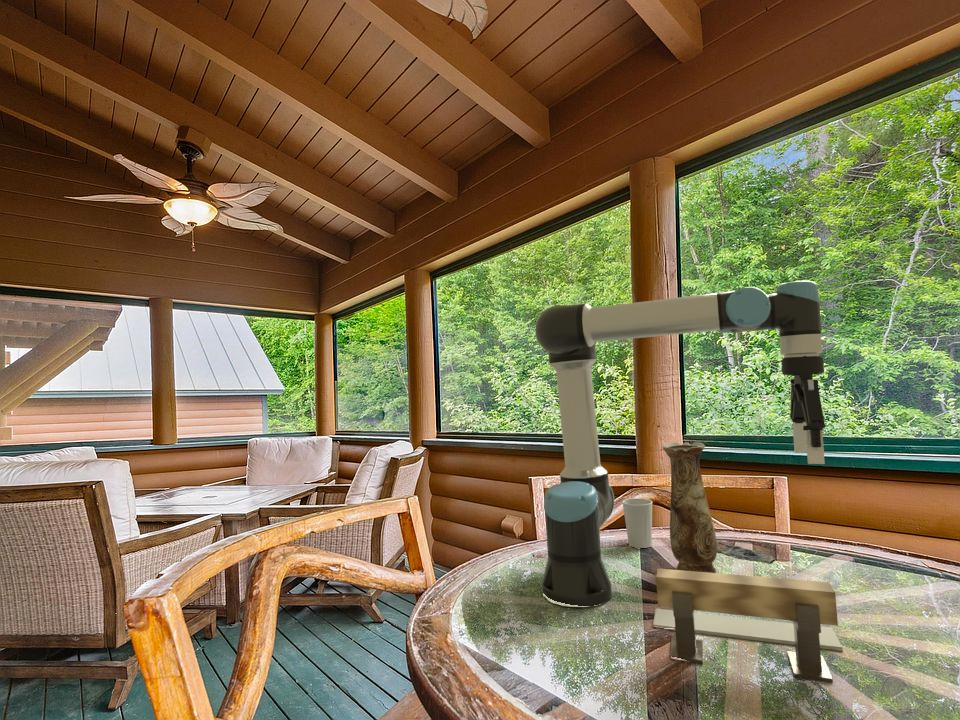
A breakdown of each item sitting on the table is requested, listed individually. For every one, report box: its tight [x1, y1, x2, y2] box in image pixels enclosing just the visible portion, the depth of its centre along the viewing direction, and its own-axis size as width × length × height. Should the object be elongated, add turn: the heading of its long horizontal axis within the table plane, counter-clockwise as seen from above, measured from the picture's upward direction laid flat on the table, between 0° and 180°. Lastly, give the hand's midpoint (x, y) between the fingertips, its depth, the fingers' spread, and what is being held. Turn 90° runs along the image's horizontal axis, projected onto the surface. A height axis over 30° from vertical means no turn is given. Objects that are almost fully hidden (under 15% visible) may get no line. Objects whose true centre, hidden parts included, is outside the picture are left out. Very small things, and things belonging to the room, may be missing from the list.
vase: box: [661, 441, 718, 573], centre depth 125 cm, size 10×11×30 cm
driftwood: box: [717, 541, 776, 565], centre depth 135 cm, size 21×7×2 cm, turn 27°
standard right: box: [786, 603, 834, 684], centre depth 83 cm, size 5×7×11 cm
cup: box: [622, 497, 653, 549], centre depth 145 cm, size 8×8×12 cm
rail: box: [655, 568, 839, 627], centre depth 86 cm, size 26×4×5 cm, turn 67°
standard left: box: [669, 591, 704, 665], centre depth 90 cm, size 5×7×11 cm
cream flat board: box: [652, 608, 843, 652], centre depth 96 cm, size 30×7×1 cm, turn 67°
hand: (808, 458), depth 109 cm, fingers open, 13 cm apart
